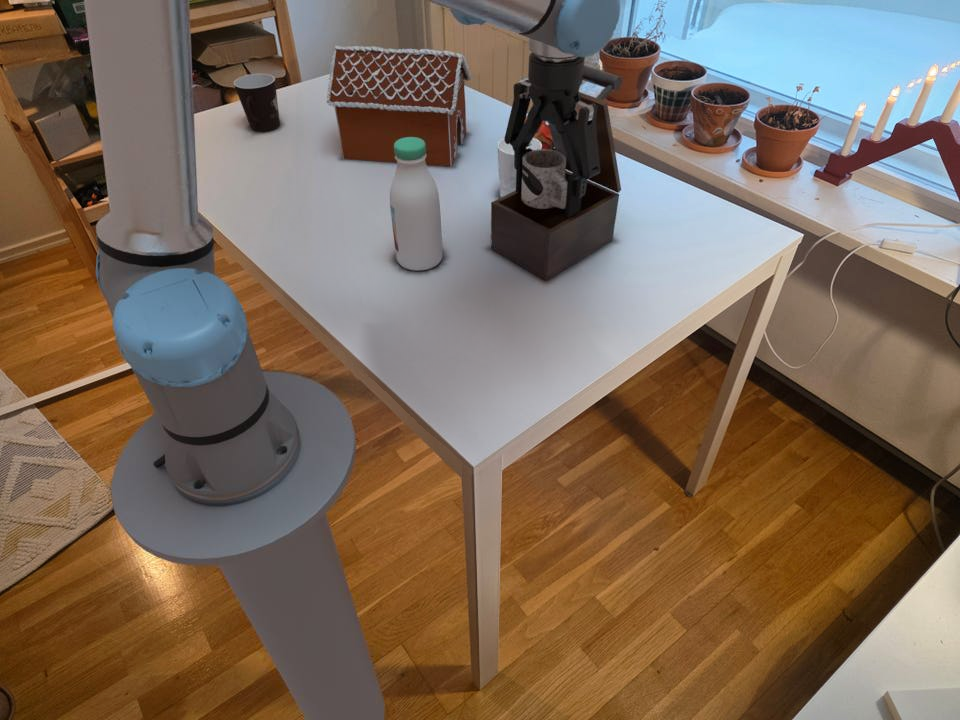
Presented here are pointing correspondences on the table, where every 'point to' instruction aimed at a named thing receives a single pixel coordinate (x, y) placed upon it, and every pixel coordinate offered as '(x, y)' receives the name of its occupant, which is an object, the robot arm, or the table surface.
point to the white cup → (510, 165)
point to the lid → (598, 129)
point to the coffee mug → (259, 101)
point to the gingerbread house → (398, 101)
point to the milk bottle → (415, 208)
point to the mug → (544, 179)
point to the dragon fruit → (544, 136)
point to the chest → (552, 230)
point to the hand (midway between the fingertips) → (547, 201)
